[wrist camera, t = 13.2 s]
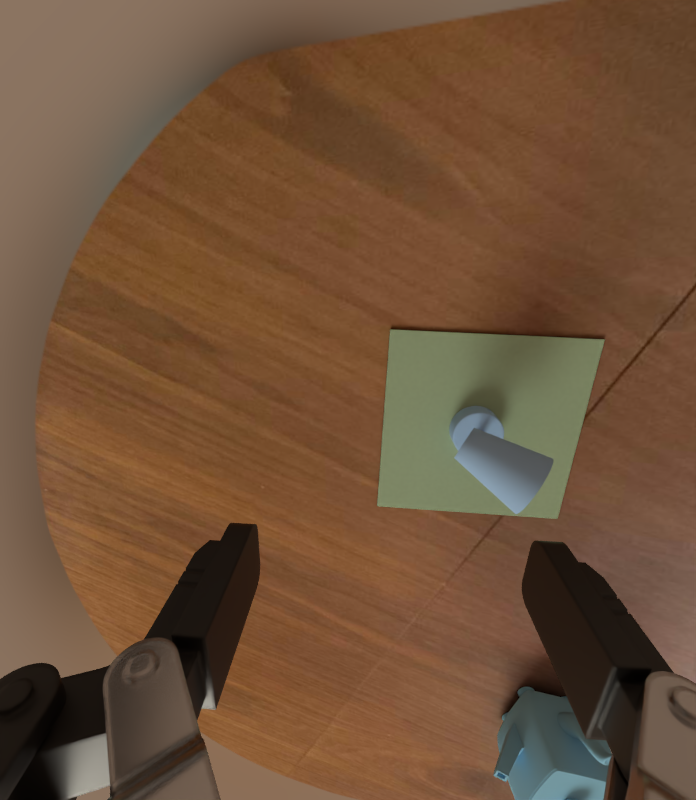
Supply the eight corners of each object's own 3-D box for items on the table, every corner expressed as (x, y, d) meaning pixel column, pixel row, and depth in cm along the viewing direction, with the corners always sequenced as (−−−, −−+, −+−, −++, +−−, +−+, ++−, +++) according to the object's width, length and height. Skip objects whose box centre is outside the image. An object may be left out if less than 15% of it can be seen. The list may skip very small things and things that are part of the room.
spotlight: (525, 423, 35) (459, 392, 34) (581, 482, 25) (491, 439, 25) (495, 466, 36) (432, 436, 36) (538, 536, 27) (452, 497, 26)
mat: (390, 329, 33) (390, 329, 33) (603, 339, 32) (604, 339, 32) (377, 505, 39) (377, 506, 39) (556, 517, 38) (557, 518, 38)
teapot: (553, 763, 50) (595, 878, 41) (452, 738, 50) (471, 848, 41) (620, 673, 44) (688, 783, 35) (506, 643, 44) (543, 747, 34)
